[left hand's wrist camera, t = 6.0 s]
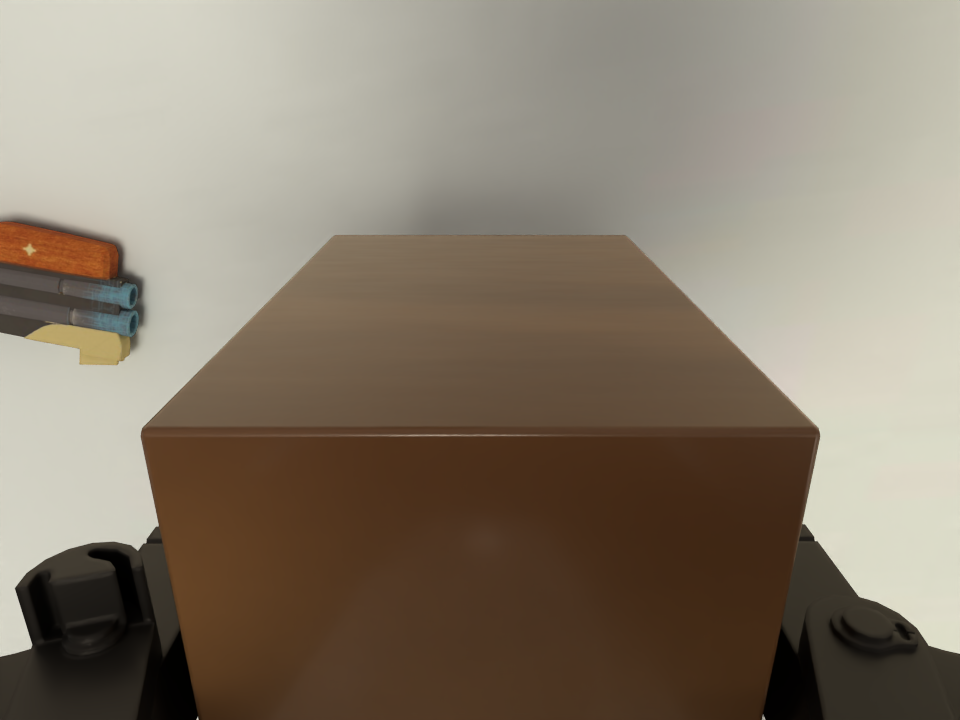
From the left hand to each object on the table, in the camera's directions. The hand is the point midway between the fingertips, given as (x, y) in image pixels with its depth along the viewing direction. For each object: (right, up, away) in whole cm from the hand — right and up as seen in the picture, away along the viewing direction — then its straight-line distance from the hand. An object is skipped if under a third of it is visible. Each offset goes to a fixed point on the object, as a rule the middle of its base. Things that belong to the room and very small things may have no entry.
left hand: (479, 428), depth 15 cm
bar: (0, -6, +3) cm, 7 cm away
